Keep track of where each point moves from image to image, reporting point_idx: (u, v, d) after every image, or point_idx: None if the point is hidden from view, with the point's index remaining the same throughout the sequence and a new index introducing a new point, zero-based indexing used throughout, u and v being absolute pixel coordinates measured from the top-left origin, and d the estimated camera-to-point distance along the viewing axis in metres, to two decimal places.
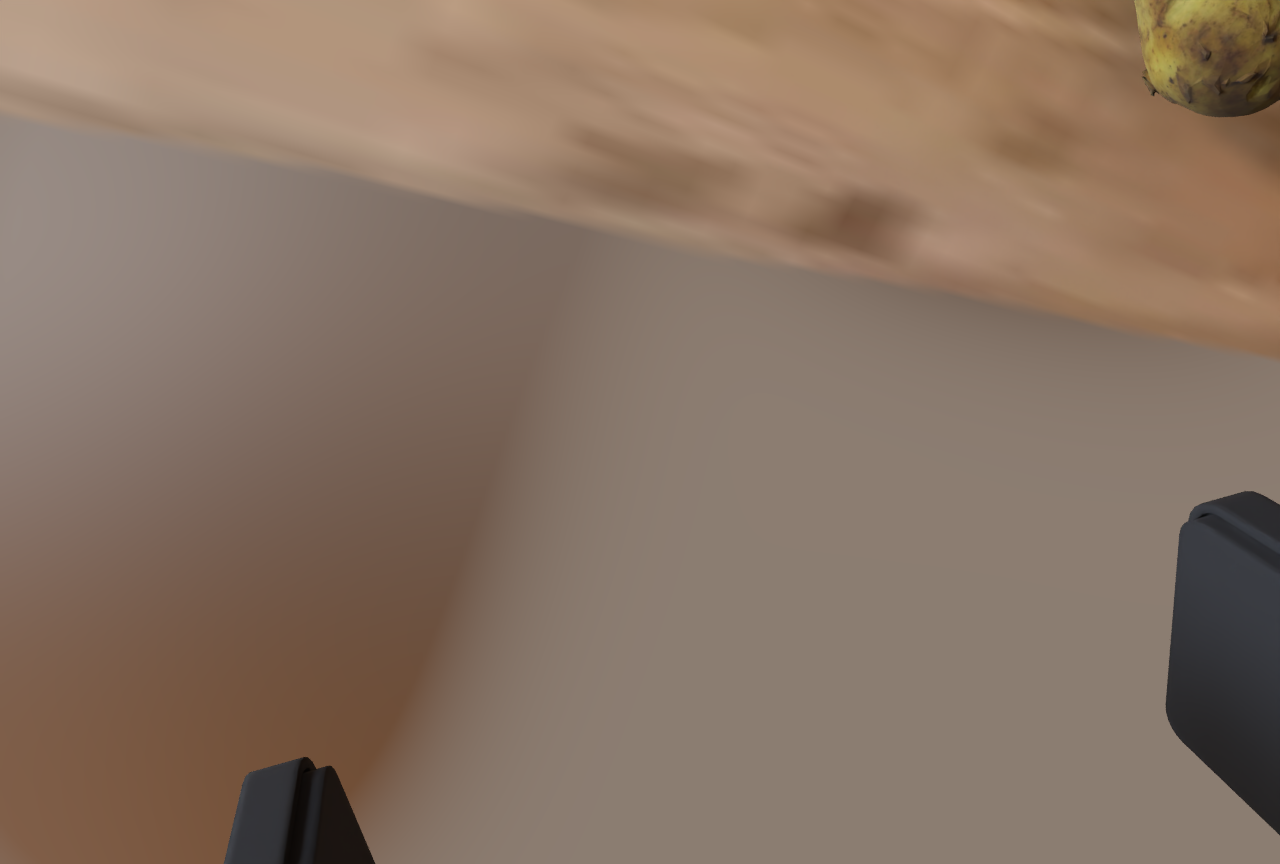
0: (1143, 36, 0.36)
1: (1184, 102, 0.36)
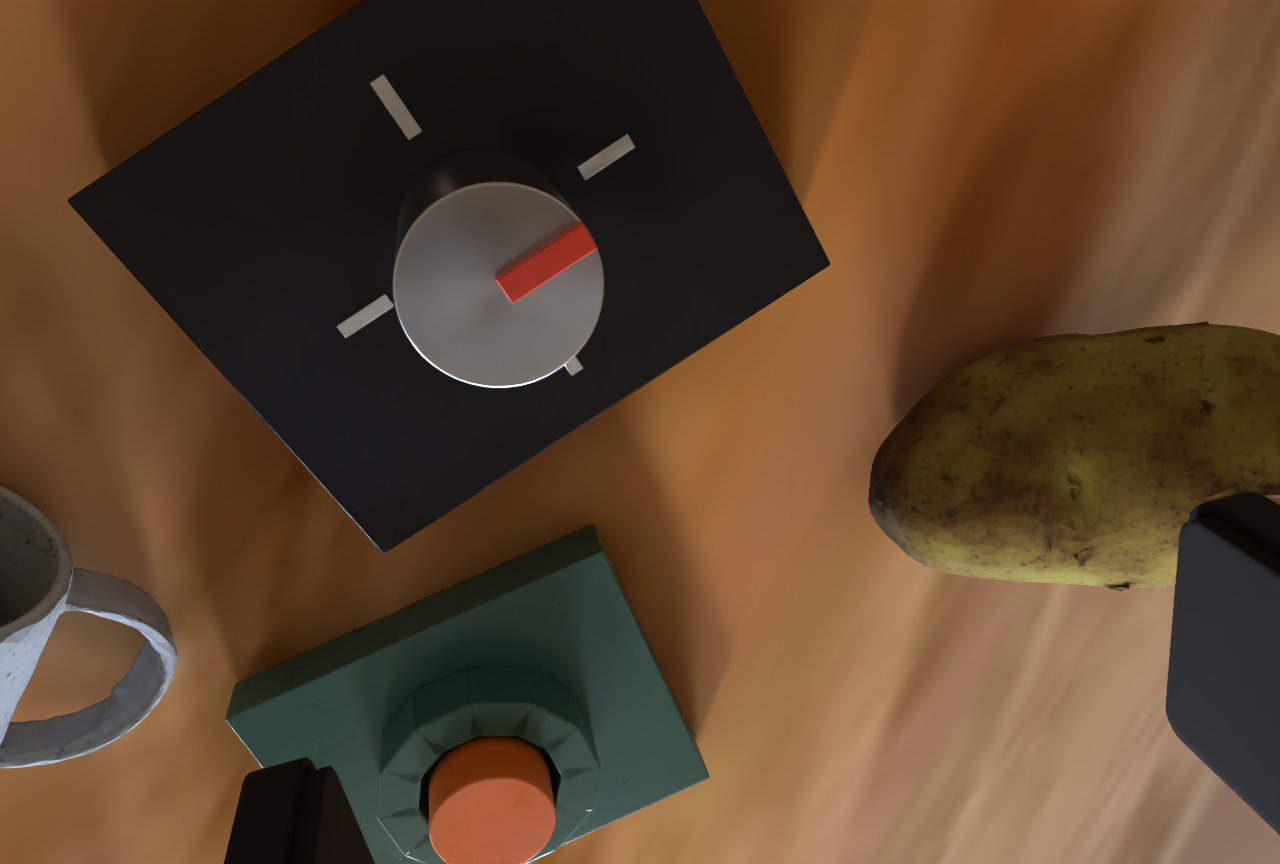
0: None
1: None
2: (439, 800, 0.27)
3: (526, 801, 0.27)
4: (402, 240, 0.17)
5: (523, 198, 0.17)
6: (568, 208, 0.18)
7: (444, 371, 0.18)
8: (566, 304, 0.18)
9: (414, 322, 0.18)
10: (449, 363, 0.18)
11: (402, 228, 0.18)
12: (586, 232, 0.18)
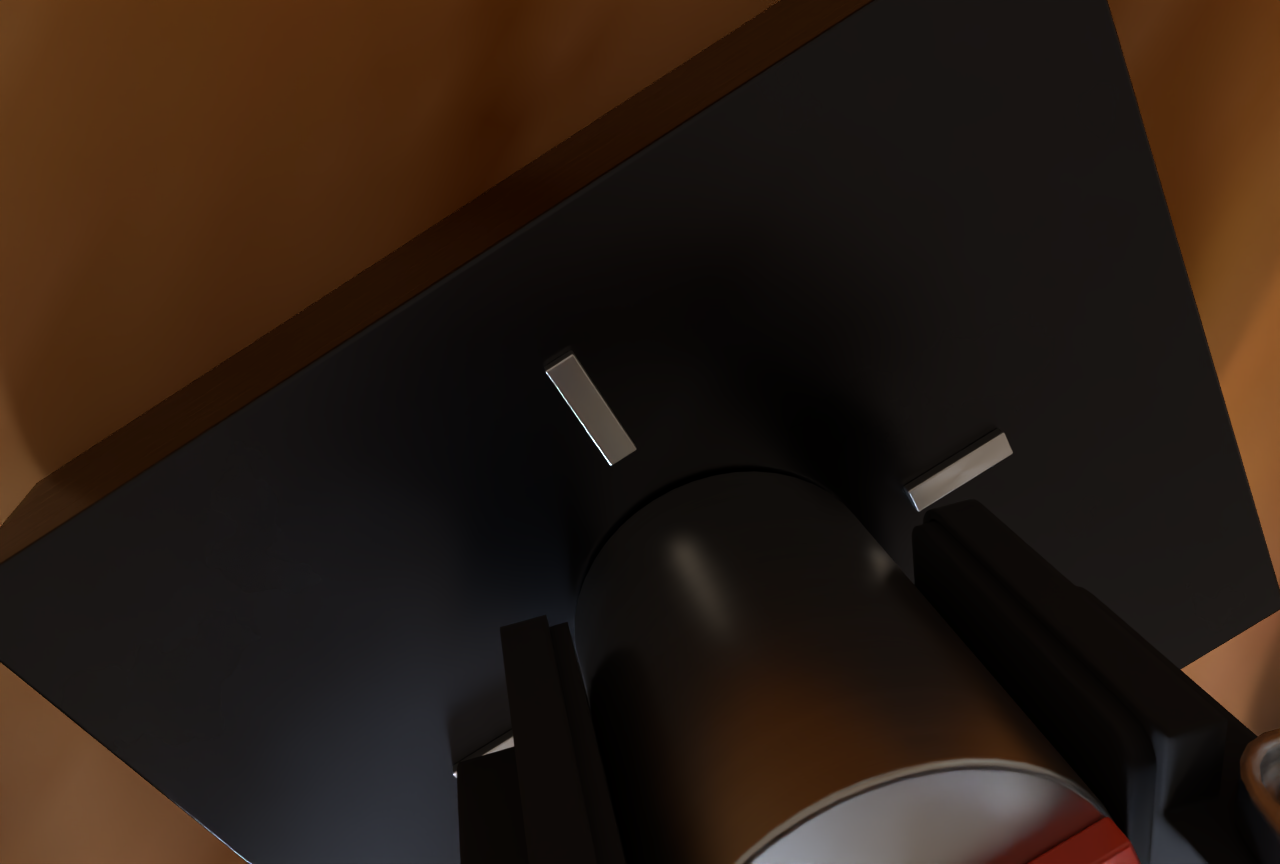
0: None
1: None
2: None
3: None
4: None
5: (995, 789, 0.07)
6: (1083, 790, 0.07)
7: None
8: None
9: None
10: None
11: (662, 781, 0.08)
12: (1134, 857, 0.07)
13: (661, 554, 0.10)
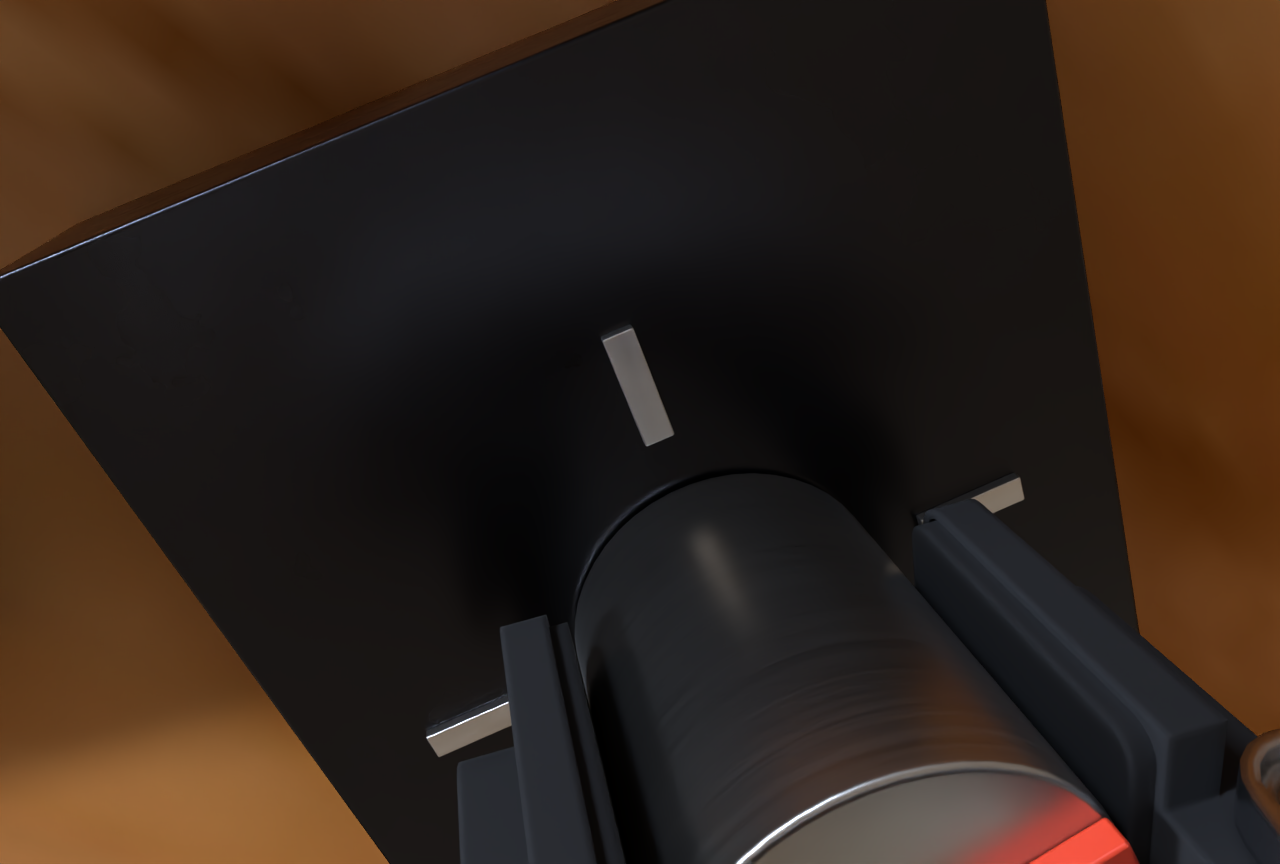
0: None
1: None
2: None
3: None
4: None
5: (994, 791, 0.07)
6: (1082, 791, 0.07)
7: None
8: None
9: None
10: None
11: (661, 785, 0.08)
12: (1133, 857, 0.07)
13: (659, 557, 0.10)
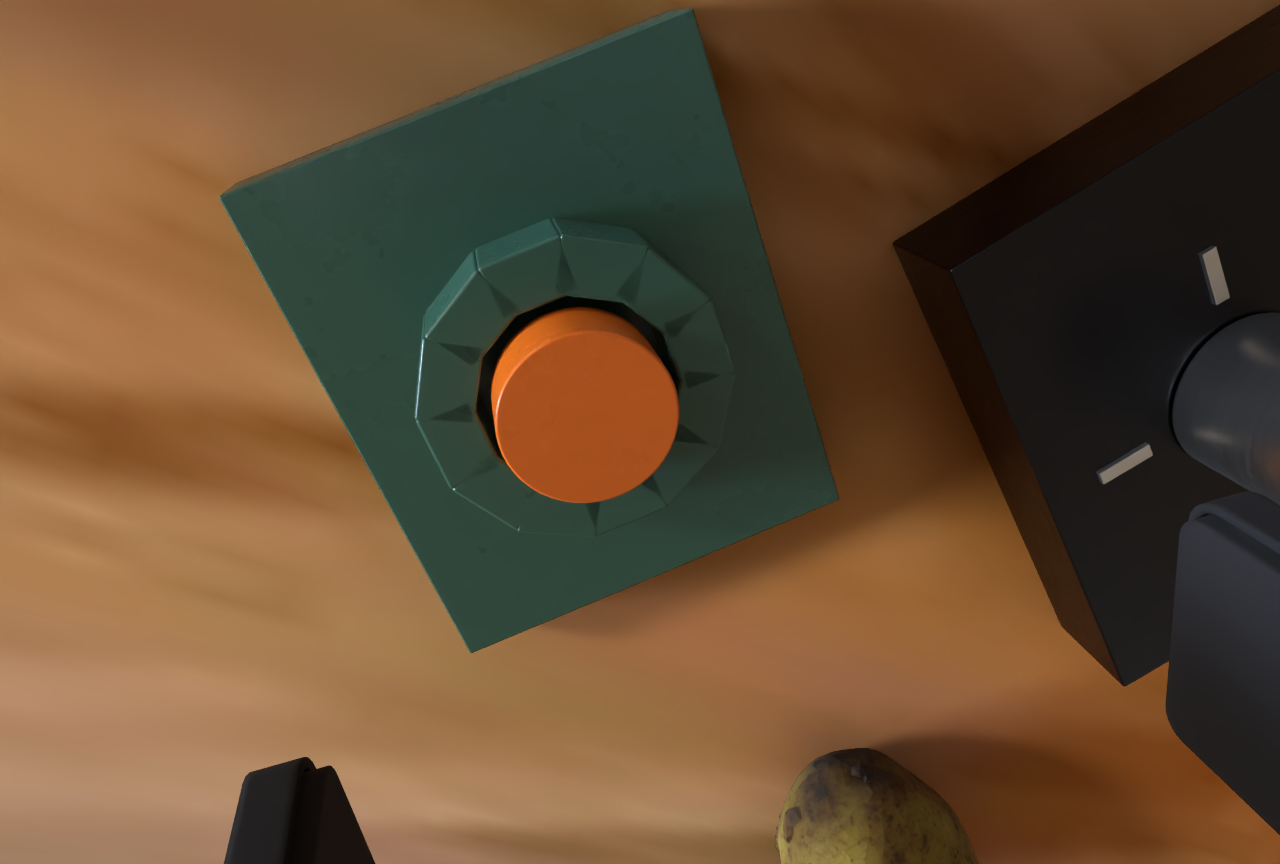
0: None
1: None
2: (643, 344, 0.18)
3: (627, 464, 0.19)
4: None
5: None
6: None
7: None
8: None
9: None
10: None
11: None
12: None
13: (1241, 356, 0.22)
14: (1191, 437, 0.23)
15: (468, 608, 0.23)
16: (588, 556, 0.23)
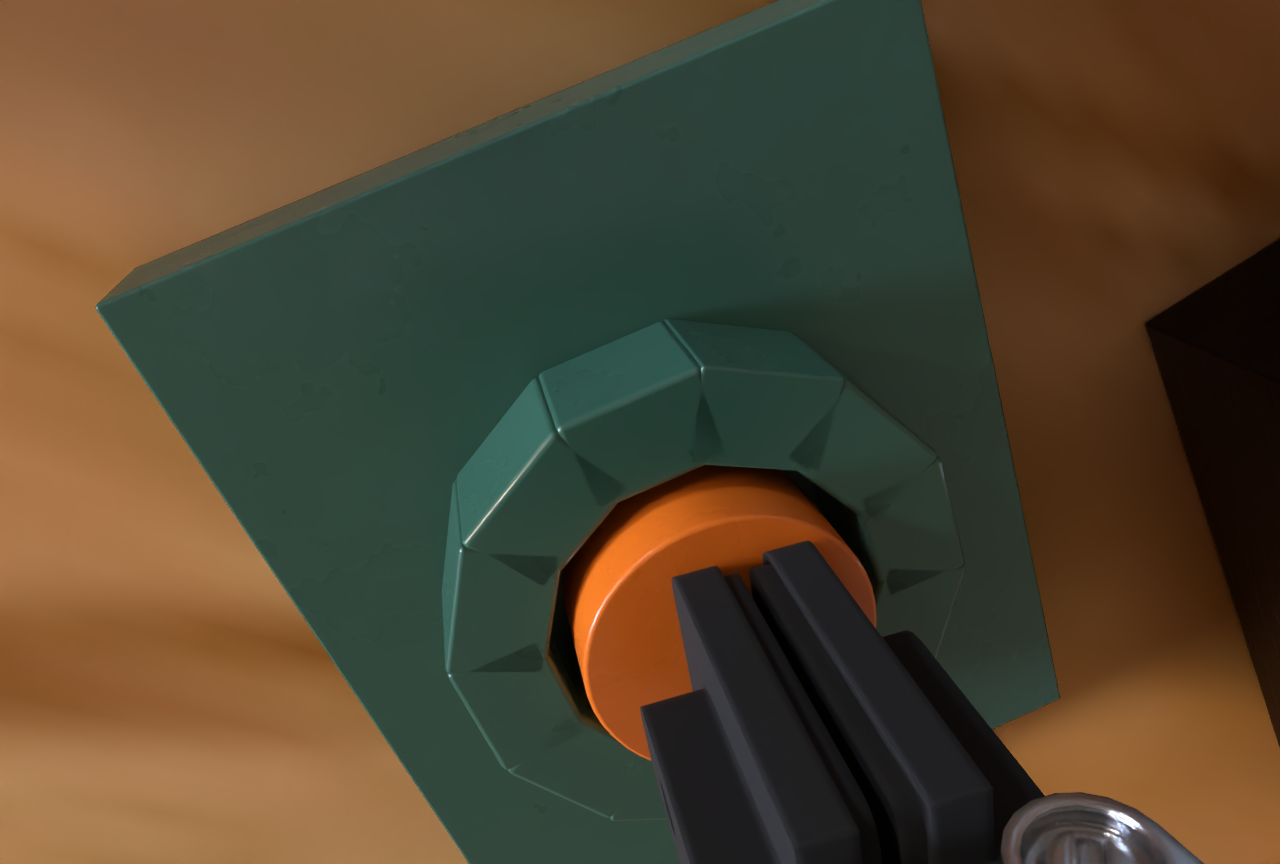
0: None
1: None
2: (826, 528, 0.11)
3: None
4: None
5: None
6: None
7: None
8: None
9: None
10: None
11: None
12: None
13: None
14: None
15: None
16: None
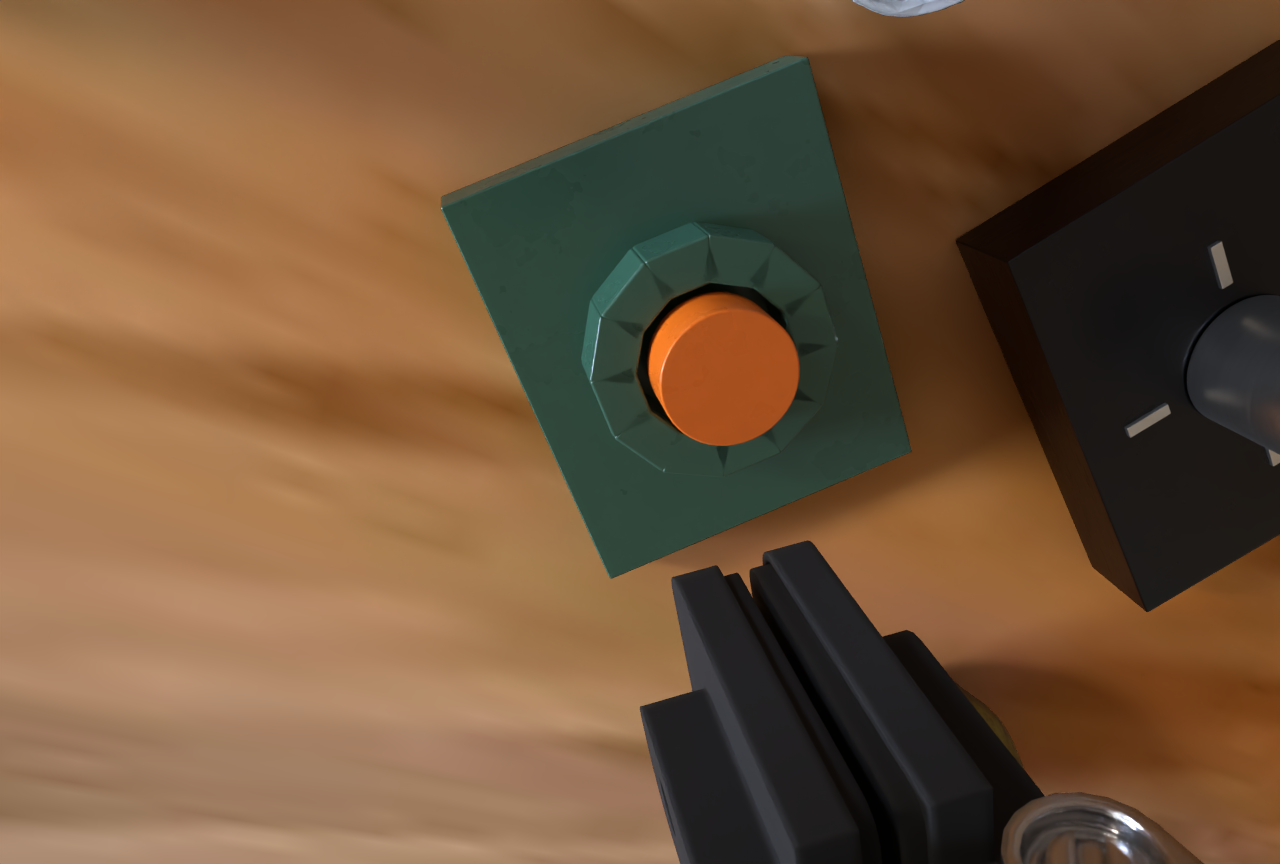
0: None
1: None
2: None
3: (758, 414, 0.24)
4: None
5: None
6: None
7: None
8: None
9: None
10: None
11: None
12: None
13: (1242, 329, 0.27)
14: (1202, 397, 0.28)
15: (610, 540, 0.28)
16: (708, 498, 0.28)
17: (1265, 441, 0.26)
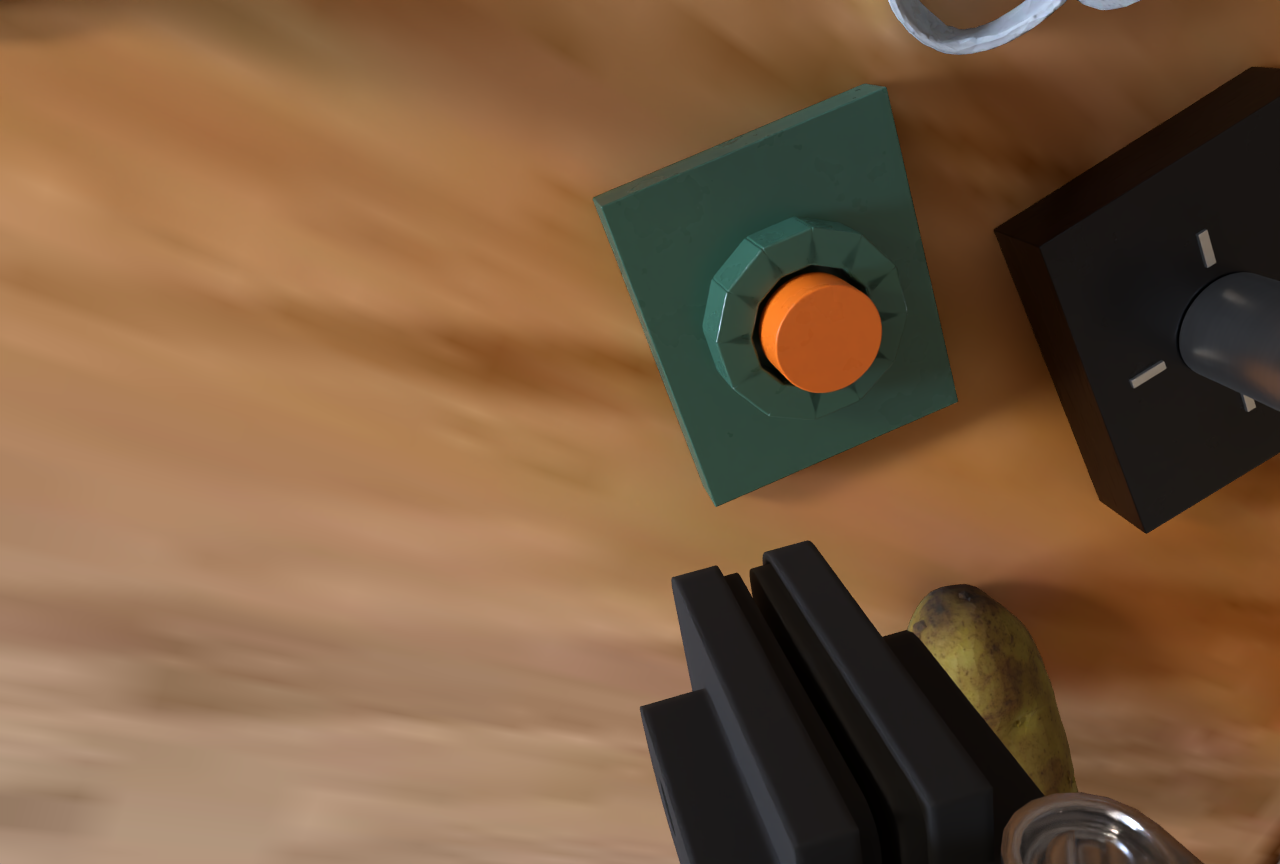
0: None
1: None
2: (863, 293, 0.30)
3: (849, 368, 0.31)
4: None
5: None
6: None
7: None
8: None
9: None
10: None
11: (1266, 343, 0.31)
12: None
13: (1224, 299, 0.33)
14: (1191, 355, 0.35)
15: (717, 475, 0.35)
16: (796, 440, 0.35)
17: (1241, 388, 0.33)
